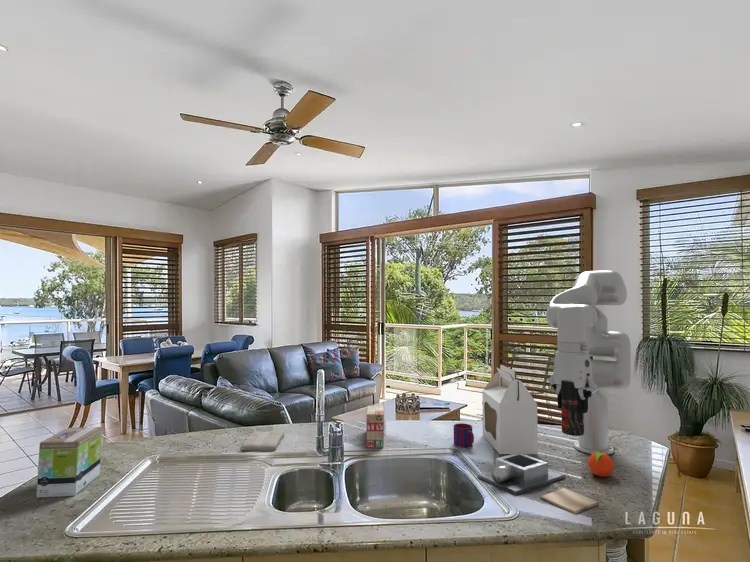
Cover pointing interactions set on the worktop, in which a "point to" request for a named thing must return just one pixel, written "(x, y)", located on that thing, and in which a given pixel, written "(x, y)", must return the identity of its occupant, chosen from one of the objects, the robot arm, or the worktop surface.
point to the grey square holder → (520, 473)
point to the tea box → (69, 461)
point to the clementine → (600, 464)
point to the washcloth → (263, 441)
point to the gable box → (509, 414)
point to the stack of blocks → (375, 427)
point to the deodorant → (571, 410)
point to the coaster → (569, 500)
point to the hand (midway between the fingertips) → (572, 409)
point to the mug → (463, 435)
